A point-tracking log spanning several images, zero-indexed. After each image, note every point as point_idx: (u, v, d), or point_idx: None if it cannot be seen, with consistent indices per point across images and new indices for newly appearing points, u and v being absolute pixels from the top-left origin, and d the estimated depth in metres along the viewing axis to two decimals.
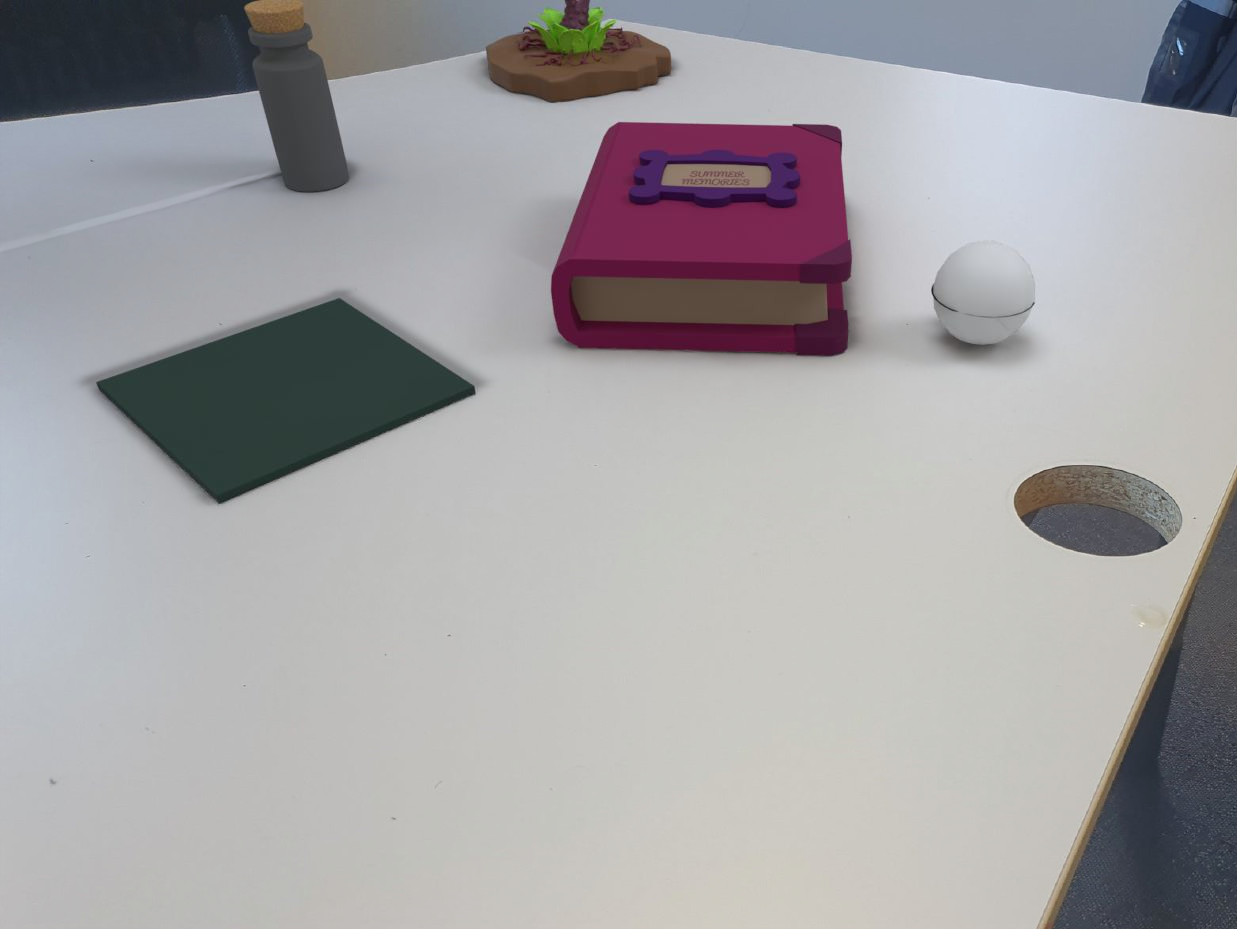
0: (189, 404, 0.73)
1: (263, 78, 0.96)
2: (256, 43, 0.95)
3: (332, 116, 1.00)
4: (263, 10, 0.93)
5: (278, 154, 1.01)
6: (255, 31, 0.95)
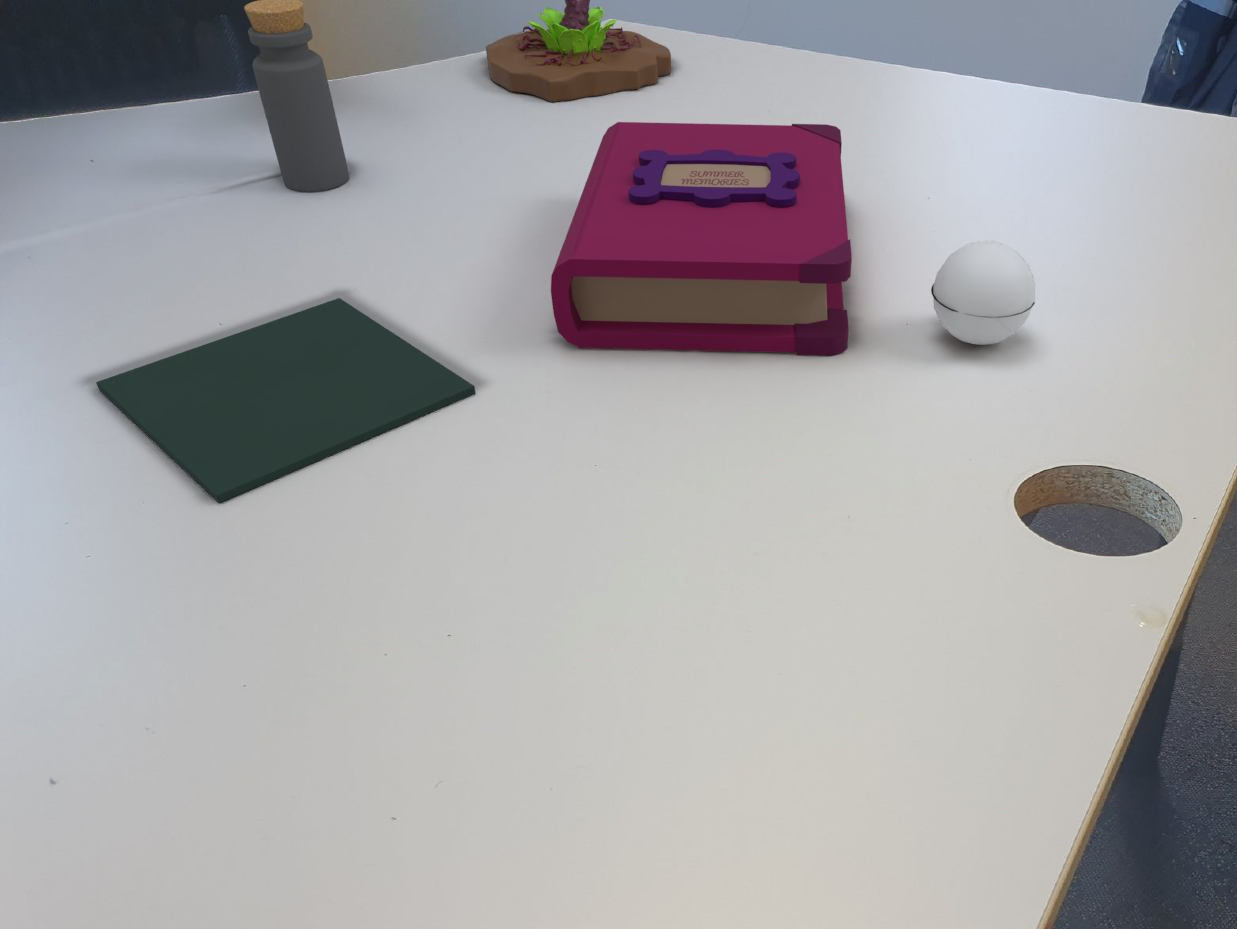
0: (189, 404, 0.73)
1: (263, 78, 0.96)
2: (256, 43, 0.95)
3: (332, 116, 1.00)
4: (263, 10, 0.93)
5: (278, 154, 1.01)
6: (255, 31, 0.95)
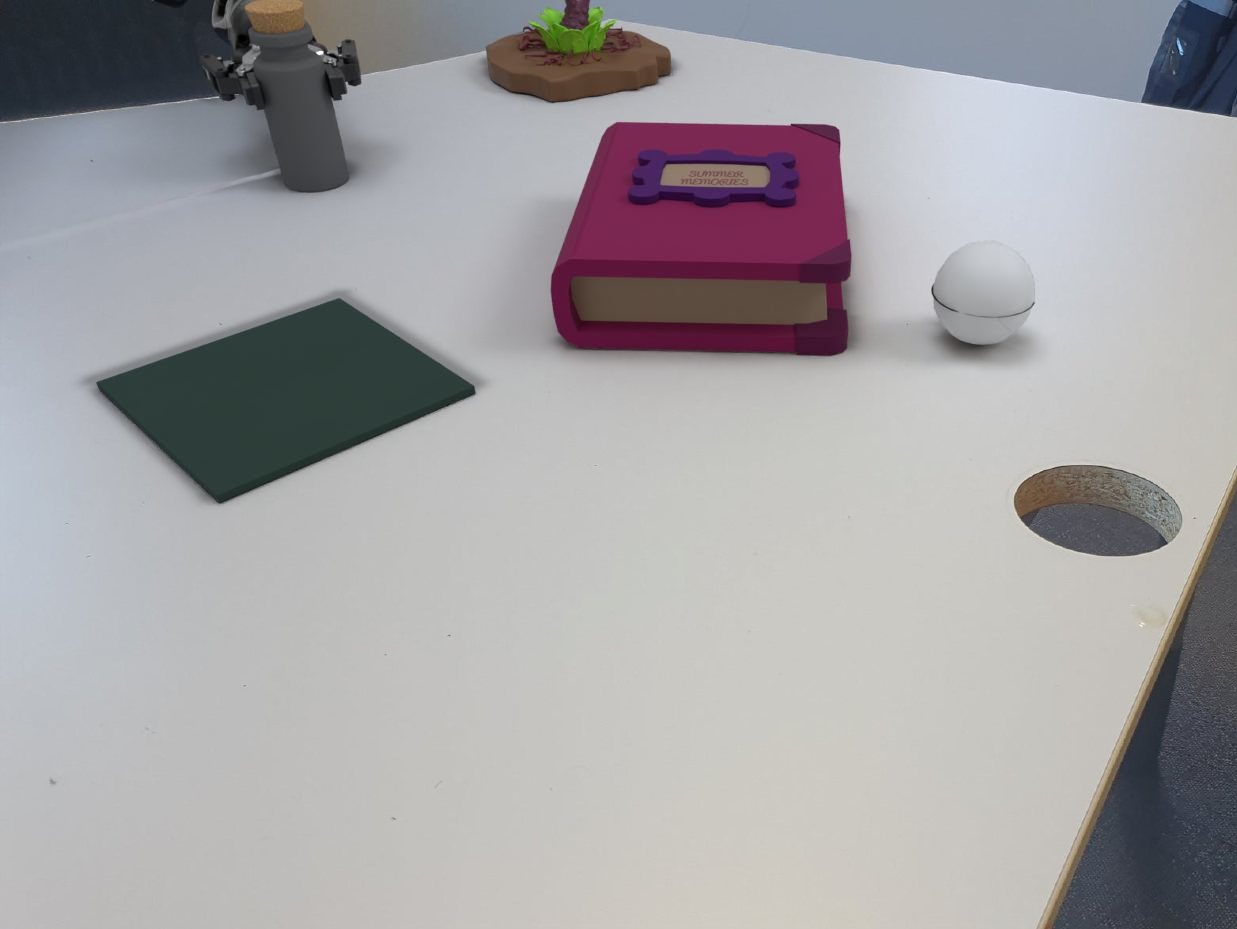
0: (189, 404, 0.73)
1: (263, 78, 0.96)
2: (256, 43, 0.95)
3: (332, 116, 1.00)
4: (263, 10, 0.93)
5: (278, 154, 1.01)
6: (255, 31, 0.95)
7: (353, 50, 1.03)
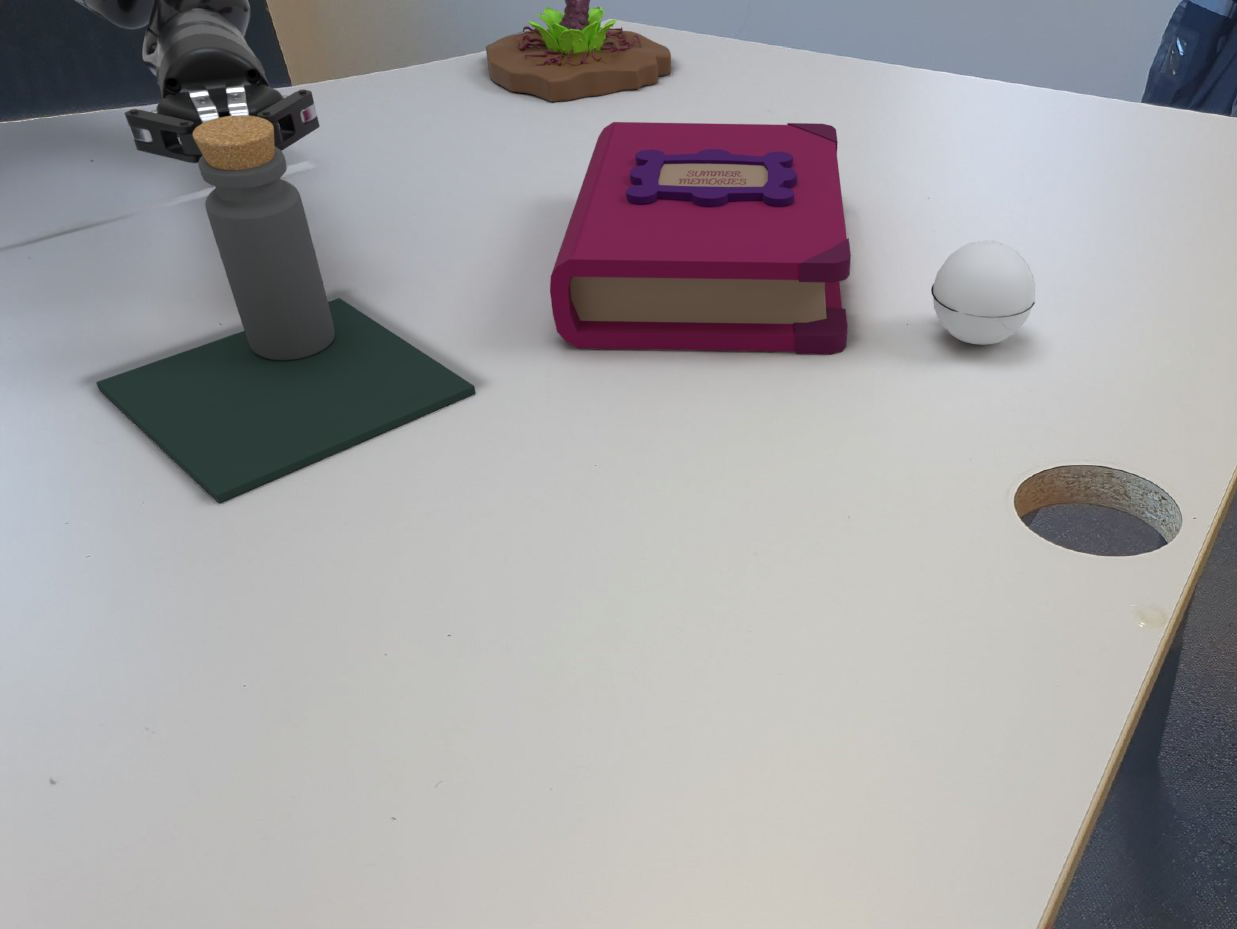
0: (189, 404, 0.73)
1: (220, 225, 0.71)
2: (209, 182, 0.70)
3: (313, 266, 0.76)
4: (218, 141, 0.68)
5: (241, 314, 0.76)
6: (208, 165, 0.70)
7: (285, 106, 0.78)
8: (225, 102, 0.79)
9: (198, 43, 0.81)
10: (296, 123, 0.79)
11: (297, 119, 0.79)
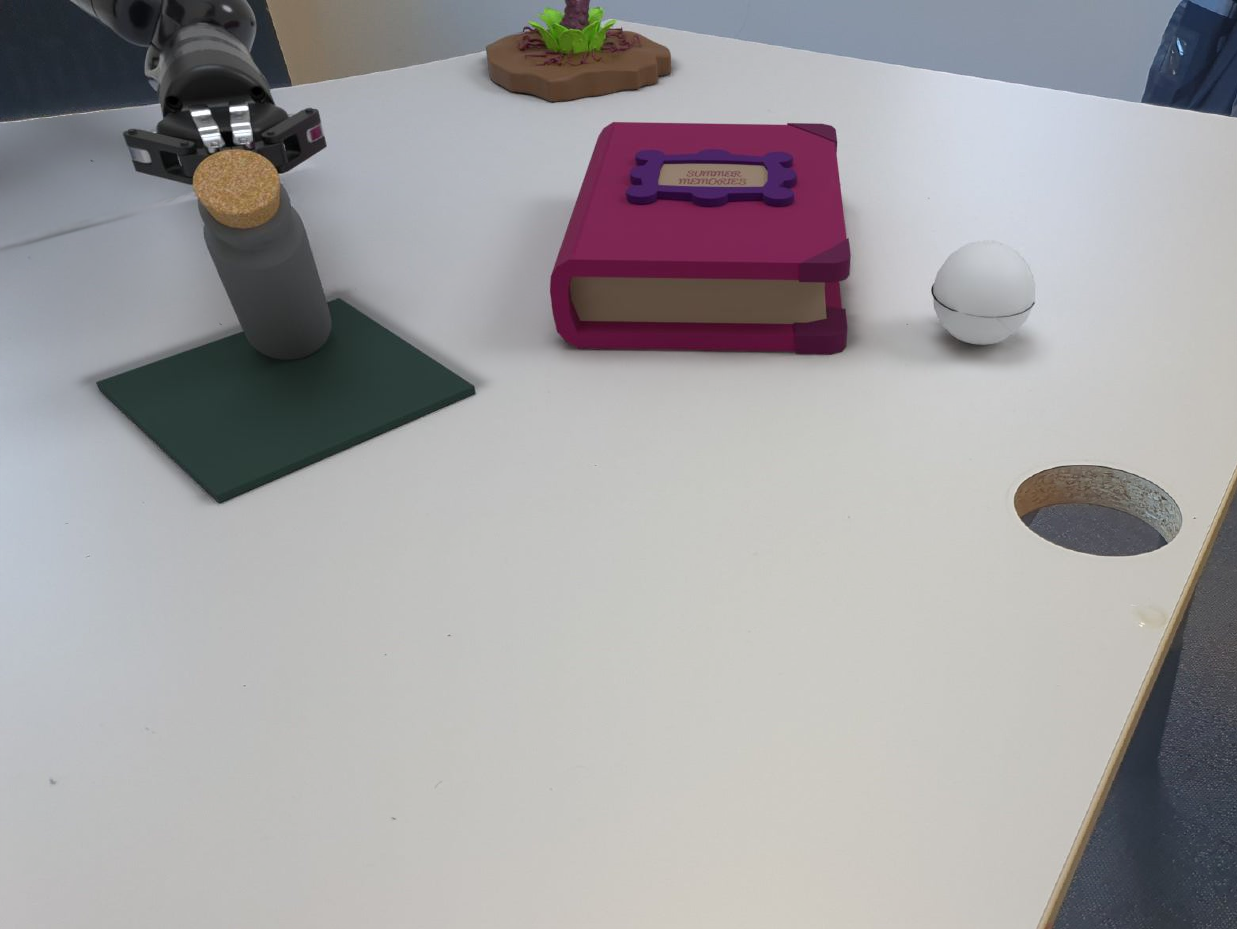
0: (189, 404, 0.73)
1: (223, 267, 0.69)
2: (213, 234, 0.66)
3: (315, 284, 0.74)
4: (225, 205, 0.64)
5: (240, 320, 0.75)
6: (211, 216, 0.66)
7: (290, 126, 0.75)
8: (228, 121, 0.75)
9: (201, 59, 0.77)
10: (302, 143, 0.76)
11: (303, 139, 0.76)
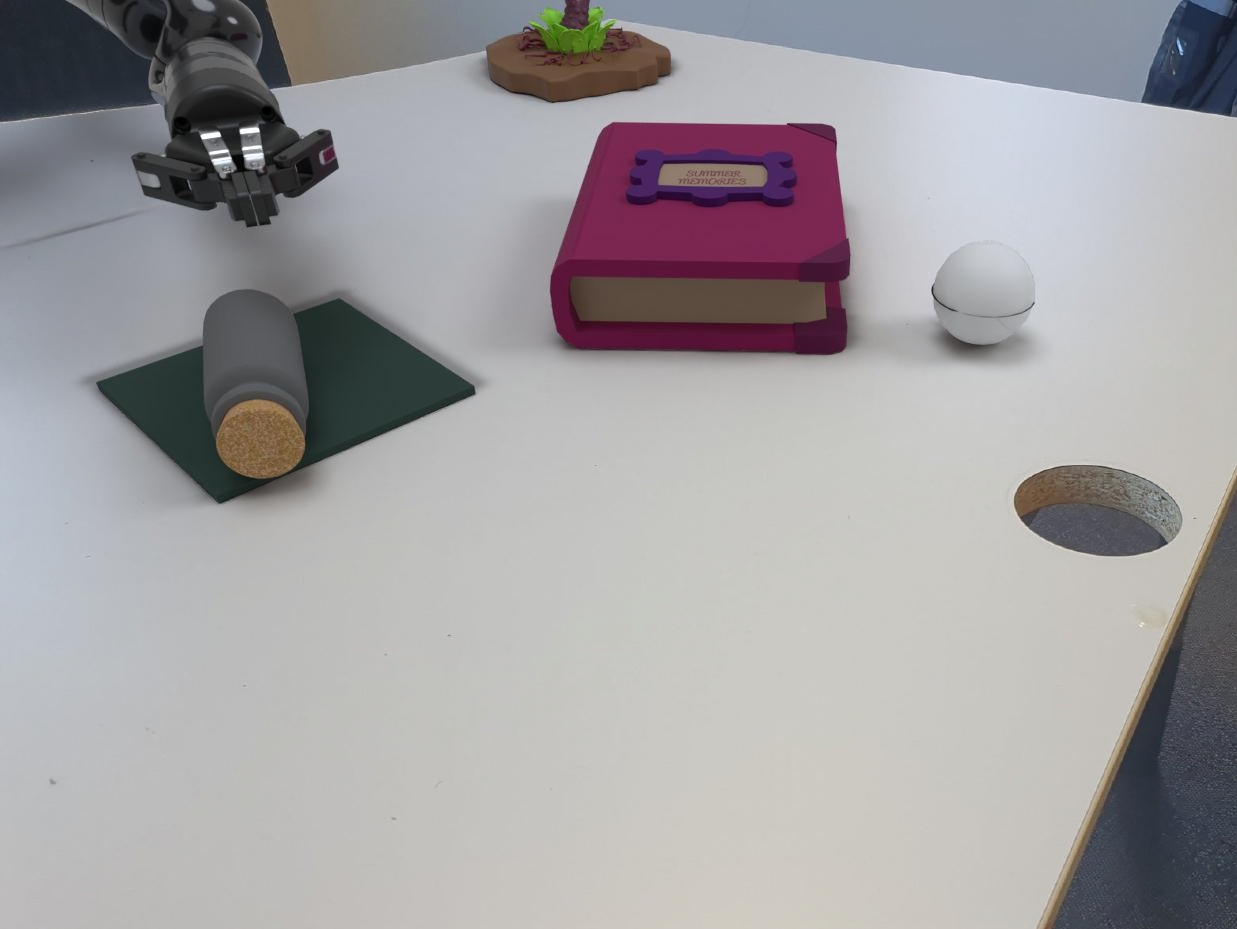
0: (189, 404, 0.73)
1: None
2: None
3: (297, 351, 0.71)
4: (277, 468, 0.66)
5: None
6: None
7: (302, 149, 0.73)
8: (238, 143, 0.74)
9: (209, 79, 0.75)
10: (314, 166, 0.74)
11: (315, 162, 0.74)
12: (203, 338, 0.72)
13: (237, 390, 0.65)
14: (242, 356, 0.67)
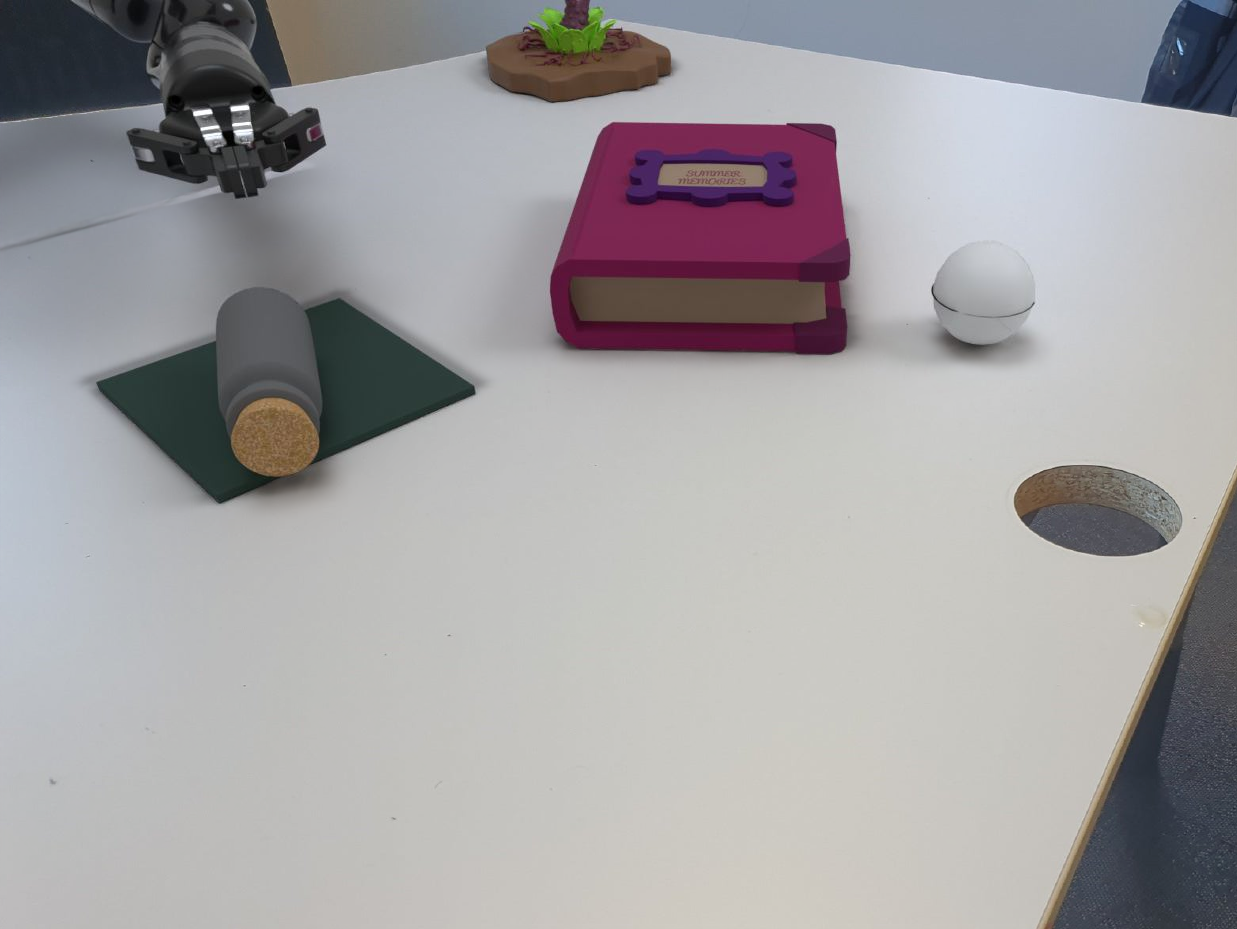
0: (189, 404, 0.73)
1: None
2: None
3: (315, 360, 0.72)
4: (282, 468, 0.66)
5: None
6: None
7: (290, 125, 0.76)
8: (229, 120, 0.77)
9: (202, 59, 0.79)
10: (302, 142, 0.77)
11: (303, 138, 0.77)
12: (220, 325, 0.72)
13: (264, 385, 0.65)
14: (270, 353, 0.67)
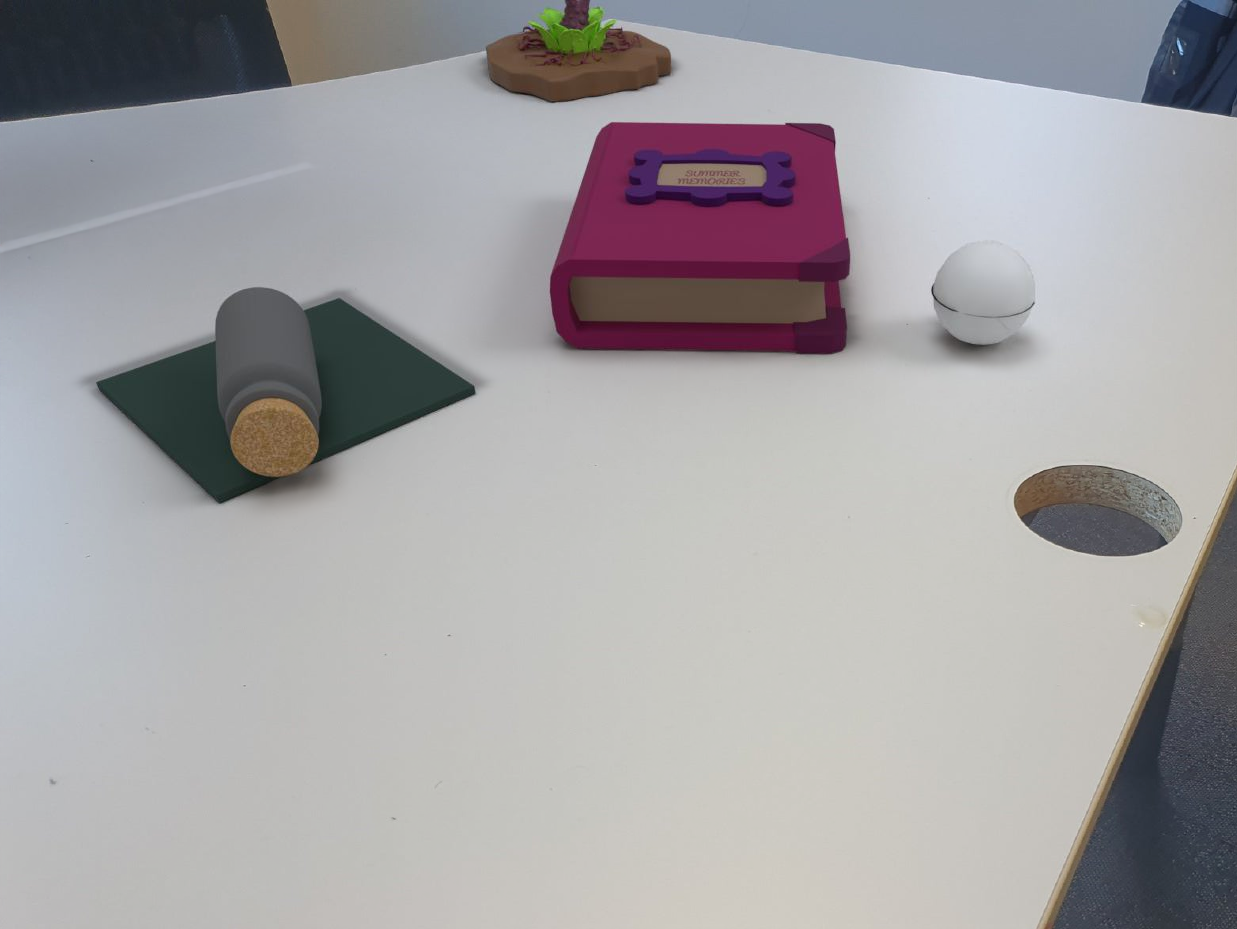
0: (189, 404, 0.73)
1: None
2: None
3: (314, 359, 0.72)
4: (282, 469, 0.66)
5: None
6: None
7: None
8: None
9: None
10: None
11: None
12: (219, 326, 0.72)
13: (263, 386, 0.65)
14: (269, 353, 0.67)
